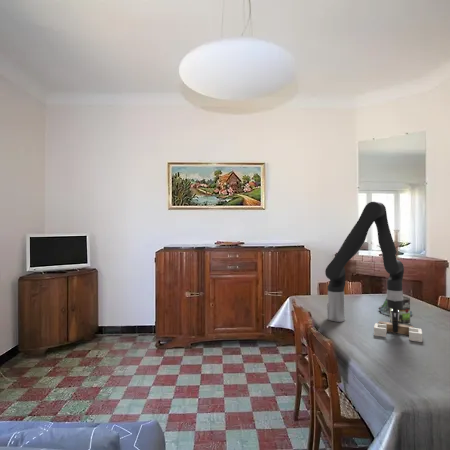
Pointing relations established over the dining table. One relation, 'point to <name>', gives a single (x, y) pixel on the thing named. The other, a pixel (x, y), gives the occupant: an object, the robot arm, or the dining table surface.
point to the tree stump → (387, 309)
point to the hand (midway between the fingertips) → (395, 329)
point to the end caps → (414, 333)
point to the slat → (401, 328)
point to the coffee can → (404, 312)
